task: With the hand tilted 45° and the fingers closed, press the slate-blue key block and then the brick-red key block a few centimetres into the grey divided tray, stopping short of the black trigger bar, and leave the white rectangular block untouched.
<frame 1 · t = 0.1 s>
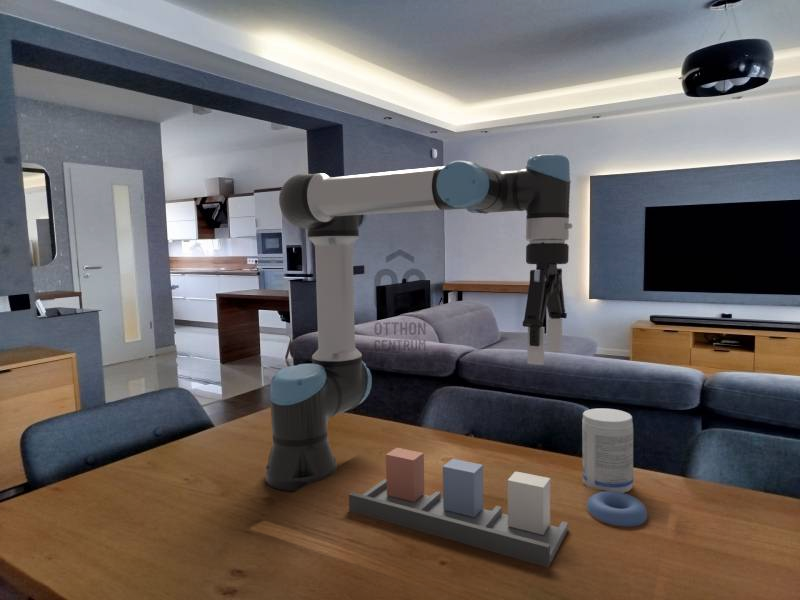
hand: (545, 357, 100), 28 cm above the table, tool pointing down, fingers open, 13 cm apart
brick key: (405, 474, 102), point 6 cm above the table, slide at 0.0 cm
white rectangular block: (528, 502, 90), point 6 cm above the table, slide at 0.0 cm
doughnut: (616, 522, 94), on the table
supplement tub: (606, 486, 108), on the table
grey divided tray: (453, 527, 93), on the table
blue key: (463, 487, 96), point 6 cm above the table, slide at 0.0 cm
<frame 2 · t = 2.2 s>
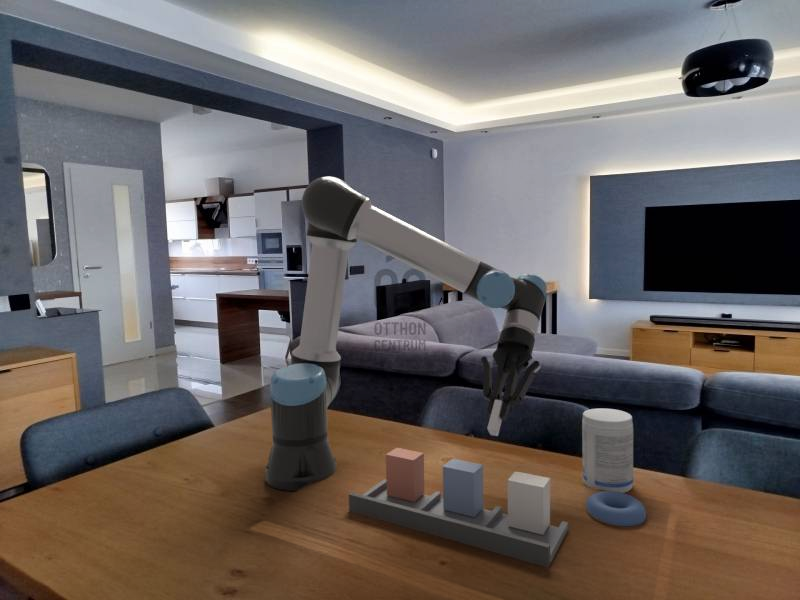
hand: (492, 432, 105), 12 cm above the table, tool tilted 45°, fingers closed
nothing on the table moved.
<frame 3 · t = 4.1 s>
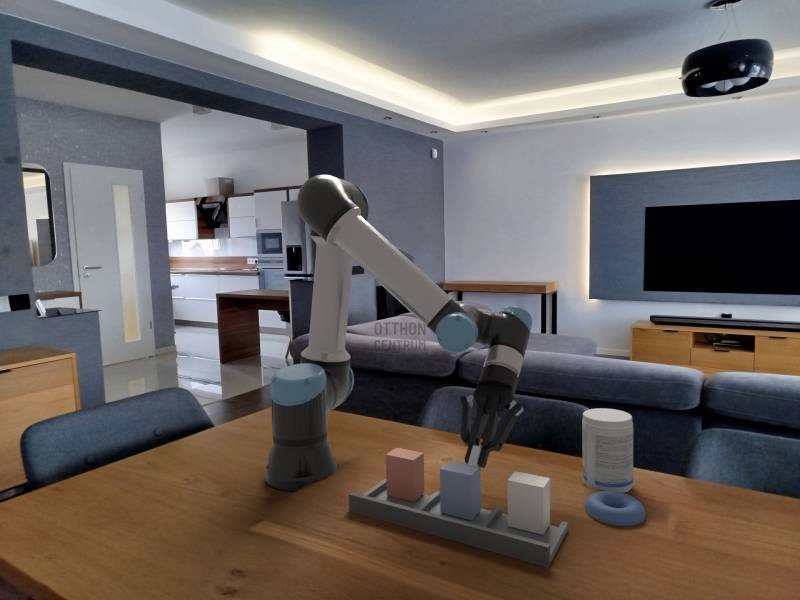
hand: (469, 482, 97), 6 cm above the table, tool tilted 45°, fingers closed
blue key: (460, 489, 95), point 6 cm above the table, slide at 1.2 cm, touching gripper
everything else where it was.
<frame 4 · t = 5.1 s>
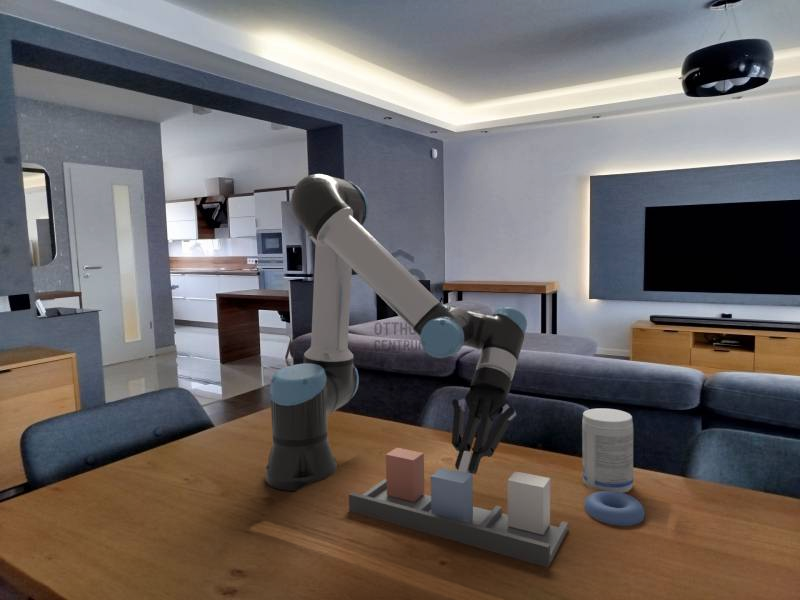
hand: (459, 488, 95), 6 cm above the table, tool tilted 45°, fingers closed
blue key: (451, 497, 92), point 6 cm above the table, slide at 4.7 cm, touching gripper
everything else where it was.
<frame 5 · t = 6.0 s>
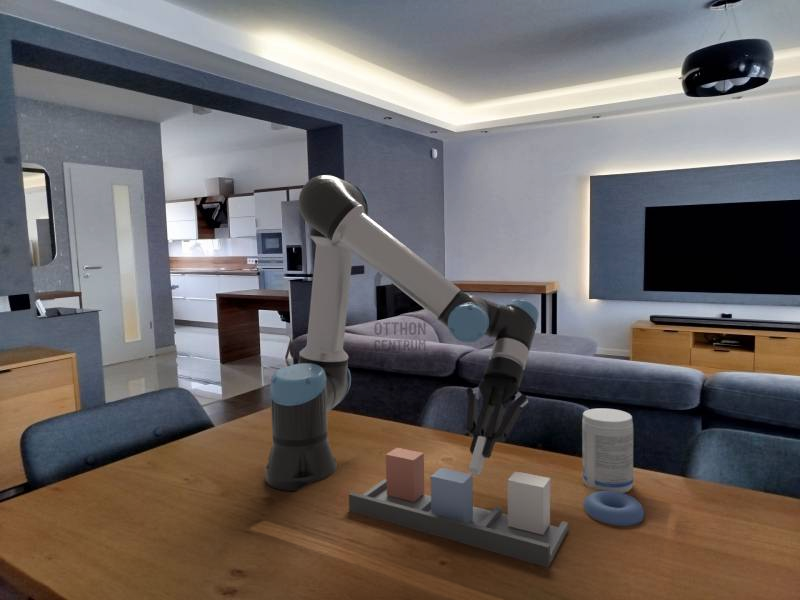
hand: (474, 471, 99), 7 cm above the table, tool tilted 45°, fingers closed
blue key: (451, 497, 92), point 6 cm above the table, slide at 4.7 cm
everything else where it was.
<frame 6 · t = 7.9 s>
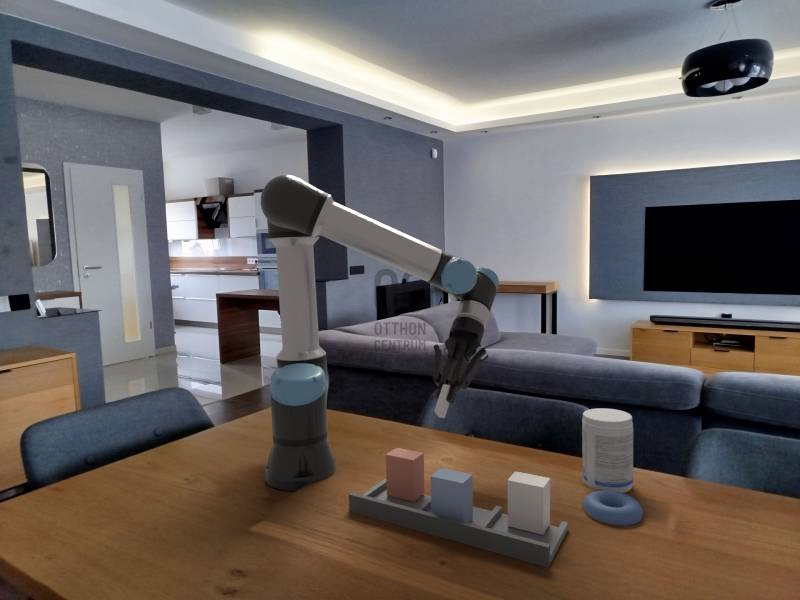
hand: (439, 414, 112), 14 cm above the table, tool tilted 45°, fingers closed
nothing on the table moved.
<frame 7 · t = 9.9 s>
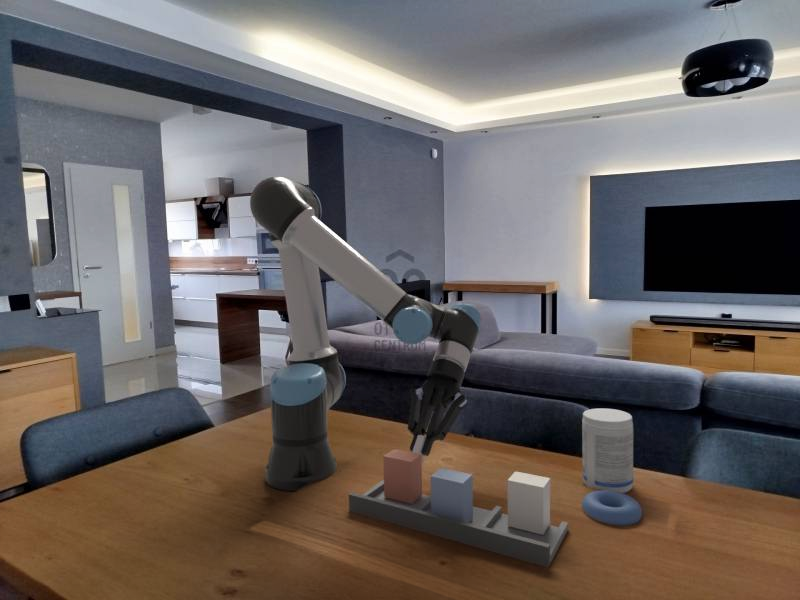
hand: (413, 468, 104), 6 cm above the table, tool tilted 45°, fingers closed
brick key: (402, 475, 101), point 6 cm above the table, slide at 0.9 cm, touching gripper
everything else where it was.
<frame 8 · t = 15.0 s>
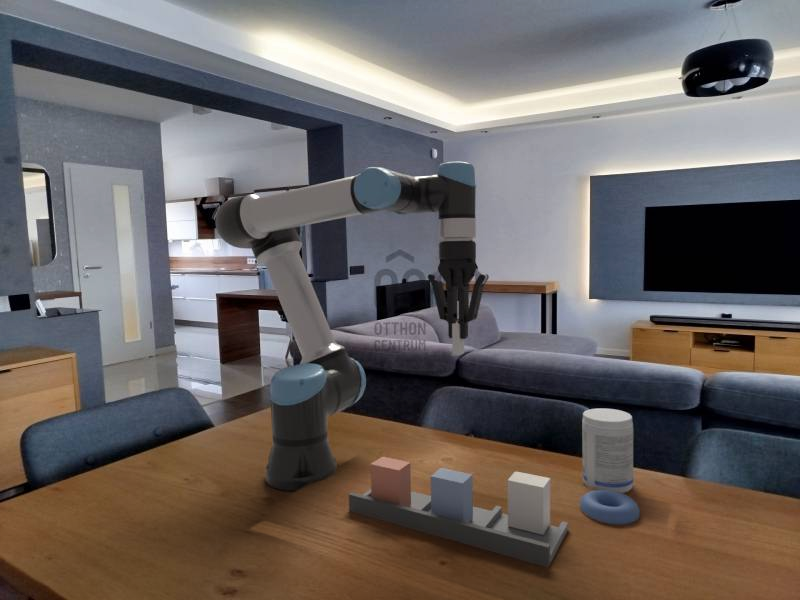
hand: (458, 353, 112), 26 cm above the table, tool pointing down, fingers closed
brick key: (390, 484, 98), point 6 cm above the table, slide at 5.2 cm
at the end: blue key slide at 4.7 cm; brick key slide at 5.2 cm; white rectangular block slide at 0.0 cm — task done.
